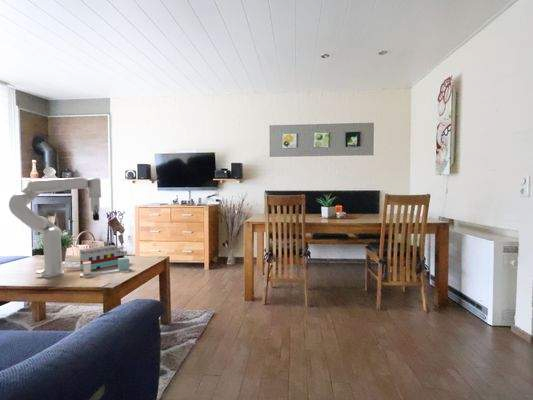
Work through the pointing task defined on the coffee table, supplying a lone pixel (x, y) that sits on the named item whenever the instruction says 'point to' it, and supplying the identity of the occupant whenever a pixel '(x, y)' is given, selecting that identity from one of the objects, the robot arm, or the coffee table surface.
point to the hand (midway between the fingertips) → (96, 219)
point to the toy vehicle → (102, 256)
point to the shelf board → (104, 272)
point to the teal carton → (123, 263)
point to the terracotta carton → (87, 268)
